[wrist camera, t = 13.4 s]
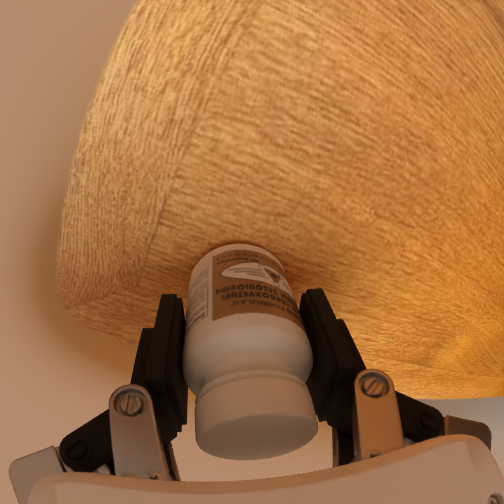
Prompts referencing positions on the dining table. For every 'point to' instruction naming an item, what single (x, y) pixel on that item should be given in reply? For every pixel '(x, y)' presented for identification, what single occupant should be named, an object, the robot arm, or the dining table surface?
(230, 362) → the pill bottle
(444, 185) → the dining table surface
